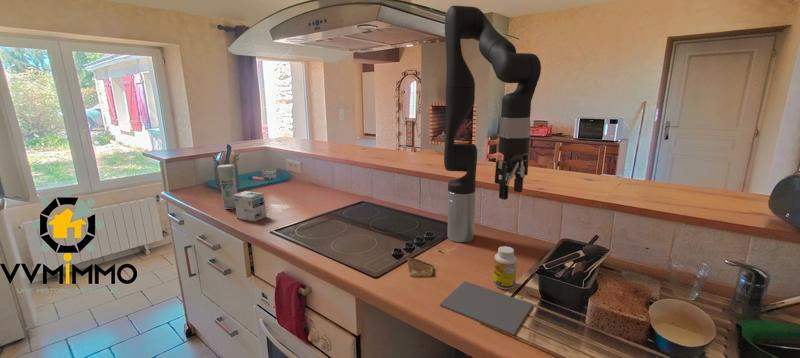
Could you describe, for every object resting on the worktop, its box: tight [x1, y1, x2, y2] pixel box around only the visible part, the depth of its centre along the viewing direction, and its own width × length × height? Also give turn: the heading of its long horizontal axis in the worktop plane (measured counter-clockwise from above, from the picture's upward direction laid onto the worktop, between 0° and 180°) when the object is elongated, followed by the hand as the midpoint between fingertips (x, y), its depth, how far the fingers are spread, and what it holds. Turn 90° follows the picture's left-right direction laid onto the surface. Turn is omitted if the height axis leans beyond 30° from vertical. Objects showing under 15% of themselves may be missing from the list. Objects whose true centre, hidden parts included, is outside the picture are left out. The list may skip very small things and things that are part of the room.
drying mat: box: [439, 280, 534, 336], centre depth 82 cm, size 13×18×1 cm
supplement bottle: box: [493, 245, 518, 290], centre depth 90 cm, size 6×6×10 cm
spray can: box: [217, 164, 238, 210], centre depth 157 cm, size 6×6×20 cm
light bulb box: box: [234, 190, 267, 223], centre depth 145 cm, size 11×7×11 cm, turn 65°
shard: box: [406, 255, 435, 278], centre depth 101 cm, size 11×8×2 cm
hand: (510, 195), depth 92 cm, fingers open, 8 cm apart
